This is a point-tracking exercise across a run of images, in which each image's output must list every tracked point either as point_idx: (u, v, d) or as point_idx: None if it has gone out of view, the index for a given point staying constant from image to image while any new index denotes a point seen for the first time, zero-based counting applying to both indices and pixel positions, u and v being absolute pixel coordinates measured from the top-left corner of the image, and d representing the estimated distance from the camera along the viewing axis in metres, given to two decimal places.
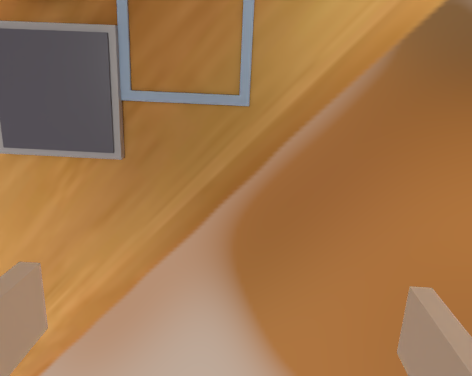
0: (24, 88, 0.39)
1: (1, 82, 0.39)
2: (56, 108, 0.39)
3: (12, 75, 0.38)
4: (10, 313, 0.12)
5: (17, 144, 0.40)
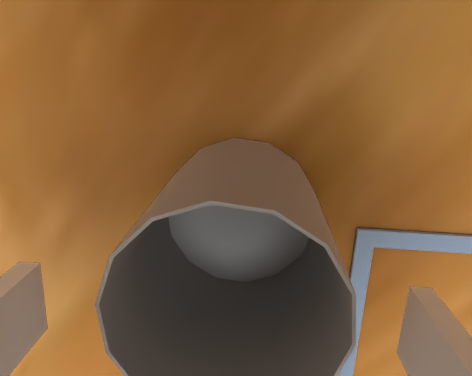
0: None
1: None
2: None
3: None
4: (10, 313, 0.12)
5: None
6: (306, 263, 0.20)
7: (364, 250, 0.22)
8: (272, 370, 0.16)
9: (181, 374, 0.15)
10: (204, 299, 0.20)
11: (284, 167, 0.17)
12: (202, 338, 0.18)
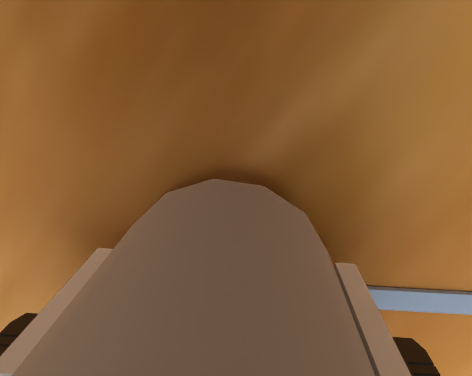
0: None
1: None
2: None
3: None
4: None
5: None
6: None
7: None
8: None
9: None
10: None
11: (287, 235, 0.11)
12: None
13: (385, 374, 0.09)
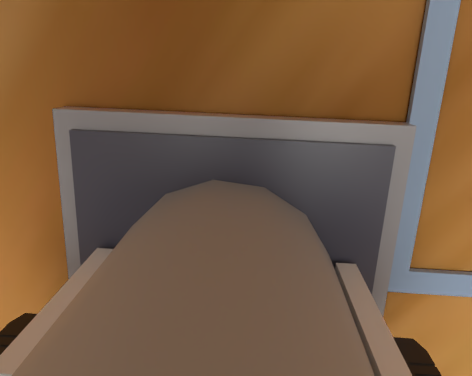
0: None
1: None
2: None
3: None
4: None
5: None
6: None
7: None
8: None
9: None
10: None
11: (287, 237, 0.11)
12: None
13: (386, 375, 0.09)
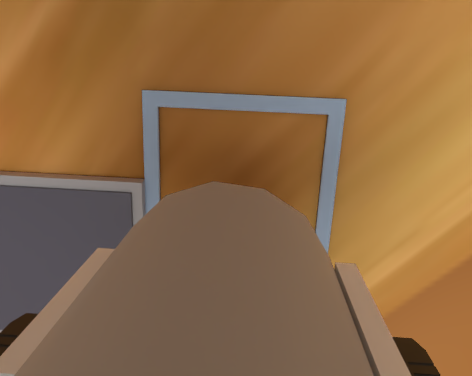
0: (14, 259, 0.28)
1: None
2: (58, 285, 0.28)
3: None
4: None
5: (5, 325, 0.30)
6: None
7: (150, 109, 0.25)
8: None
9: None
10: None
11: (287, 239, 0.11)
12: None
13: (385, 374, 0.09)
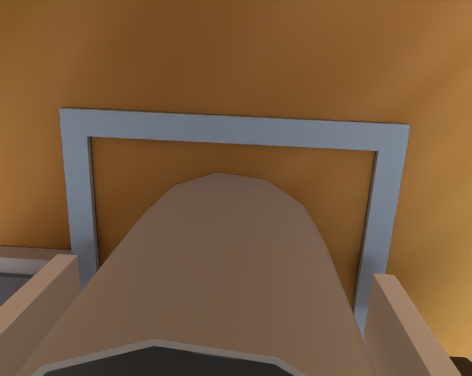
0: None
1: None
2: None
3: None
4: (54, 301, 0.13)
5: None
6: None
7: (74, 141, 0.15)
8: None
9: None
10: None
11: (287, 222, 0.12)
12: None
13: None
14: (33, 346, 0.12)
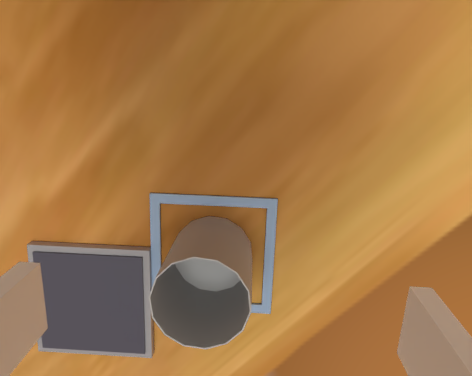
0: (64, 300, 0.42)
1: None
2: (93, 317, 0.43)
3: (53, 290, 0.42)
4: (10, 313, 0.12)
5: (55, 345, 0.44)
6: None
7: (154, 205, 0.40)
8: (223, 328, 0.35)
9: (182, 330, 0.34)
10: (193, 300, 0.39)
11: (230, 234, 0.37)
12: (192, 317, 0.37)
13: None
14: None
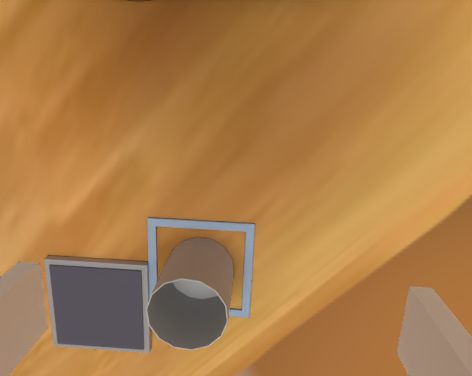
0: (75, 305, 0.50)
1: (58, 301, 0.50)
2: (100, 319, 0.51)
3: (66, 296, 0.50)
4: (10, 313, 0.12)
5: (68, 341, 0.52)
6: None
7: (151, 227, 0.48)
8: (206, 333, 0.43)
9: (173, 334, 0.42)
10: (183, 307, 0.47)
11: (214, 255, 0.45)
12: (181, 322, 0.45)
13: None
14: None
